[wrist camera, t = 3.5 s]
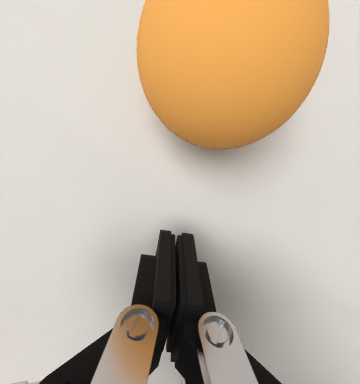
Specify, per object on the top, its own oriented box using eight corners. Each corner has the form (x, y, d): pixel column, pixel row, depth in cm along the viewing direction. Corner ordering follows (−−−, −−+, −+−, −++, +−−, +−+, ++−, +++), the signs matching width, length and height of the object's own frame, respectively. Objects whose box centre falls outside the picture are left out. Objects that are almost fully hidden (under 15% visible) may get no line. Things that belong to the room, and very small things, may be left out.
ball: (249, 146, 11) (320, 185, 6) (140, 125, 11) (106, 146, 5) (292, 12, 9) (469, -126, 4) (158, -24, 9) (129, -252, 3)
